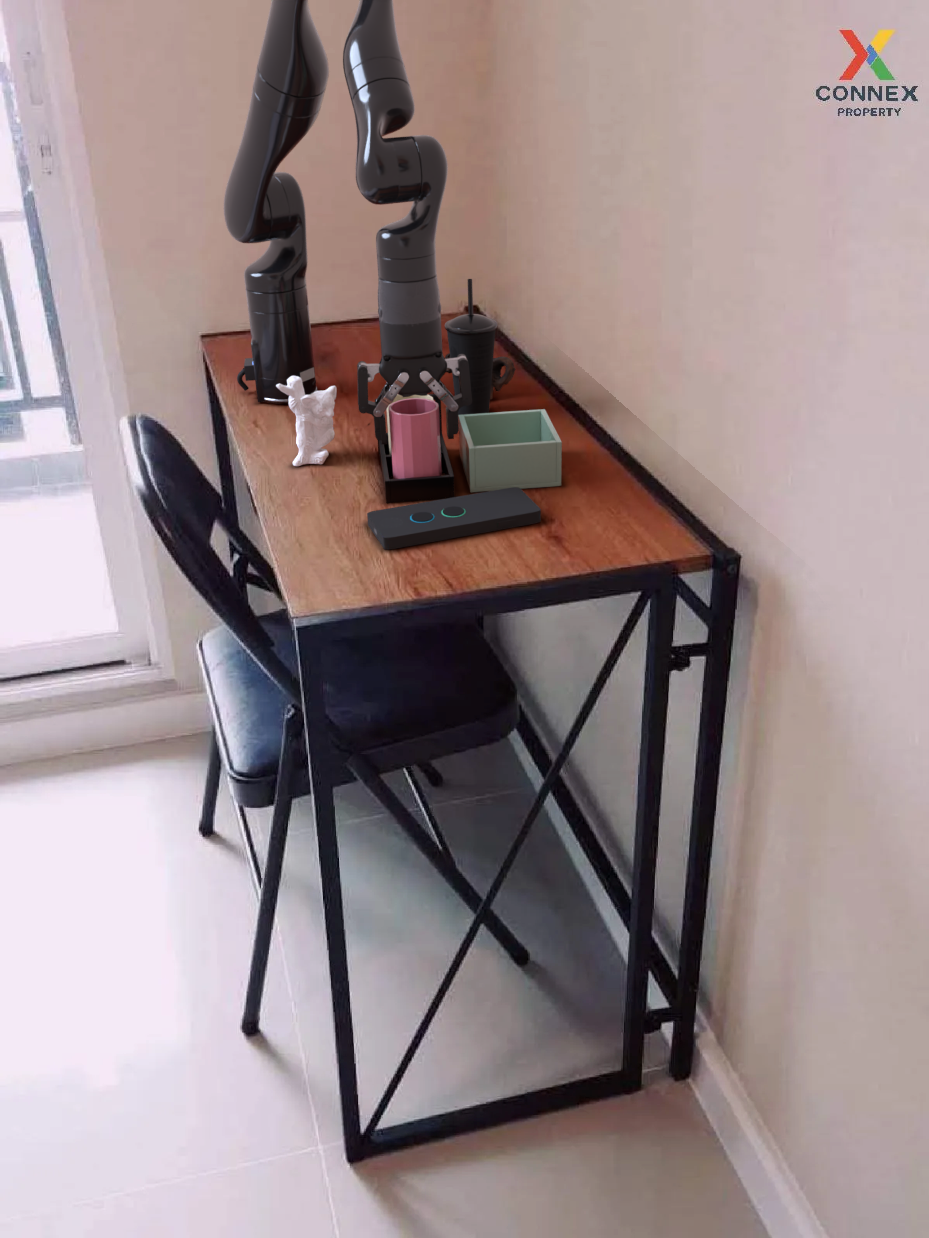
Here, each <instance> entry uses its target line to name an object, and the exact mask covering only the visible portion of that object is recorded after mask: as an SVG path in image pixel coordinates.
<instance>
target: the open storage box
mask: <svg viewBox="0 0 929 1238" xmlns="http://www.w3.org/2000/svg"><path fill="white" fill-rule="evenodd" d="M458 424H459V431H458V445H459V446H458V447H459V448H458V449H459V459H460V463H461V465H462V470H463V473H464V476H465V479H466V482H467V485H468V489H469V492H470V493H482V492H488V491H494V490H500V489H506V488H512V487H518V488H520V489H521V490H525V489H537V488H549V487H550V488H552V487H561V486H562V468H563V467H562V462H563V460H562V458H563V457H562V456H563V455H562V454H563V448H562V447H563V442H562V440H561V437H560V435H559V434H558V431H557V430H556V428H555V426H554V424H553V422H552V421H551V418H550V416H549V414H548V412H547V410H546V409H545V408H543V409H541V408H540V409H539V408H538V409H529V410H528V409H526V410H510V411H497V412H489V413H480V414H465V415H458Z"/></svg>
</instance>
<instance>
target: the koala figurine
mask: <svg viewBox="0 0 929 1238" xmlns="http://www.w3.org/2000/svg"><path fill="white" fill-rule="evenodd" d="M287 384H288V385H287V386H285V385H282V384H280V383H279V384H278V385H276V387H277V388H278V389H279V390H280V391H282V392H283V393H285V394H287V395H290V396H289V404H288V408H289V409H290V410H291V412H292V413H293V414H295V432H296V437H295V444H296V446H297V448H298V453H297V455H296V456H295V458H294V459H293V460H292V464H291V465H292V466H293V467H300V466H303V465H309V464H310V465H323V464H324V463H325V462H326V460H327V458H328V457H329V451H328V449H327V448H323V447H326V446H327V445H329V444H330V443H331V442H332V441H333V440H334V439H335V434H336V432H335V427H334V418H333V417H334V416H335V410H334V409H335V405H336V401H335V400H336V399H337V390H338V389H337V386H336V385H330V386H329V387H328V388H326V389H325V390H317V391H316V392H314V393H312V394H311V395H305V392H304V388H303V383H302V379H301V378H300V377H298V376H291V377H289V378H288V379H287Z"/></svg>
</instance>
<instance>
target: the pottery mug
mask: <svg viewBox="0 0 929 1238" xmlns="http://www.w3.org/2000/svg"><path fill="white" fill-rule="evenodd" d="M444 358H445V359H449V358H450V352H448V353H446V354H445V355H444ZM514 364H515V363H514V361H513V360H512V359H511V358H510V357H507V356H498V357H493V367H492V381H491V394H490V401H492V400H493V397H494V396H493V393H494V391H495V392H500V391H501V389H502V388H503V386H505V385H507V384H509V383H510V382H511V381H512V379H513V377H514V375H515V371H516V367H515V365H514ZM503 367H505V371H504V373H503V375H502V369H503ZM446 373H448V374H452V370H451V369H450V368H447V370H446V372H445V373H444V375H445V374H446ZM501 375H502V376H501Z"/></svg>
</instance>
